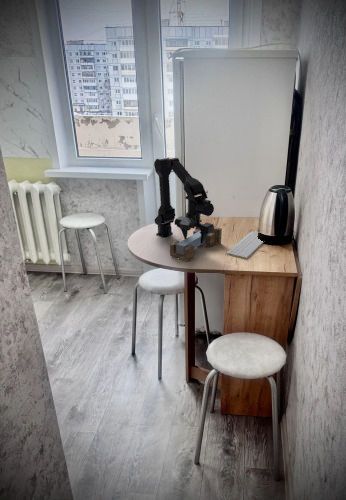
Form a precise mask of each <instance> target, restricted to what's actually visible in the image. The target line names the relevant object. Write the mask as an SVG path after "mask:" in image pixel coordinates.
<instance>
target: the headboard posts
mask: <svg viewBox="0 0 346 500" xmlns="http://www.w3.org/2000/svg"><path fill="white" fill-rule="evenodd" d="M200 224H202V222H200ZM194 229H195V230H194V231H192V235H193V234H195V233H197V232H199V231H200V228H198V227H195V228H194ZM222 231H223V228H221V227H217V226H214V230H212V231H211V232H210V234H208V235H207V241H206V242H204V243H203V244H201V245H200V246H205V247H208V248H212V247H213V246H215V245H217V246H219V245H221V244H222V236H223V235H222ZM179 242H180V241H179V240H175V241H173V242H171V243H170V244H169V256H170V257H171V256H172V258H174V259H178V258H179V259H178V260H181V259H182V261H183V262H190V261H192V260H193V259H195V249H194V246H193V245H189V246H188V247H186V248H184V255H181V254H178V253H176V244H177V243H179Z"/></svg>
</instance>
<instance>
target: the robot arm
mask: <svg viewBox="0 0 346 500" xmlns="http://www.w3.org/2000/svg"><path fill="white" fill-rule="evenodd" d="M153 163H154V164H153V166H154V172H155V173H156V175H158V184H159V196H160V197H159V198H160V206H159V208H158V210H157V216H156V217H155V219H154V224H155V225H157V233H156V234H155V235H157V236H160V237H164V238H166V237H169V236H170V235H173V232H172V223H174V225H175V226H176V227H177V228H178V229H180V231H181V232H182V233H181V234H182V236H183V238H184V239H183V240H185V239H186V238H188V233H189V231H190V230H192V229H195V227H198V228H200V230H201V232H200V234H201V244H202V243H203V242H204V240H205V238H206V236H207V234H208V233H209V232H211V231H212V230H214V227H215V225H214V224H213V223H210V222H204V223H202V221H203V219H201V215H203V216H206V217H210V216H212V215H213V213H214V211H215V206H214V205H213V203H212V201H211V200H209V199H208V195H207V192H206V189H205V188H204V185H203V183H202V182H201V181H199V179H197V178H195V177H193V176H192V175H191V174H190V173H189V171H188V170H187V168H185V167H184V165H183V164H182V163H181V161H180V159H179V158H178V157H171V158H170V157H169V156H167V157H160V158H159V157H158V158H155V160H154V162H153ZM172 171H173V173H174V174H175V176H177V178H178V179H179V181H180V182H181V183H182V185H183V190H184V191H185V193H186V196H185V197H184V198H185V200H187V212H186V213H185V216H184V215H183V216H182V215H180V216H178V217H177V218H176V209H175V207H173V206H172V205H171V189H170V175H171V173H172ZM200 223H201V224H200Z"/></svg>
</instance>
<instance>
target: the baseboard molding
mask: <svg viewBox="0 0 346 500" xmlns="http://www.w3.org/2000/svg"><path fill="white" fill-rule="evenodd" d="M251 230H252V231H251ZM258 233H259V231H255V230H253V229H252V228H251V229H250V231H249V233H248V234H246V235H245V236H244V237H243V238H242V239H241V240H239V241H238V242H236V244H234V246H232V247H231V248H230V249H228V251H226V252H225V255H228V256H232V257H235V258H239V259H244V260H248V258H249V257H250V256H251V255H252V254H253V253H255V251H256V250H258V248H260V246H262V245H263V243H264V242H263V241H261V240H260V239H258V237H257V236H258Z"/></svg>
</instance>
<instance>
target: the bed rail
mask: <svg viewBox="0 0 346 500" xmlns="http://www.w3.org/2000/svg"><path fill="white" fill-rule="evenodd" d="M200 232H201V230H200V231H199V232H197V233H195V234H193V233H192V235H190V236H187V238H186V239H183V240H181V241H179V243H177V244H176V253H178V254H181V255H184V248H186V247H188V246H189V245H193V246H194V250H195V249H196V248H198V247H199V246H202V245H201V234H200ZM208 234H210V232H209V233H208ZM208 234H207V235H208ZM206 241H207V236H206V238H205V240H204V242H206ZM204 242H203V243H204ZM203 243H202V244H203Z"/></svg>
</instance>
